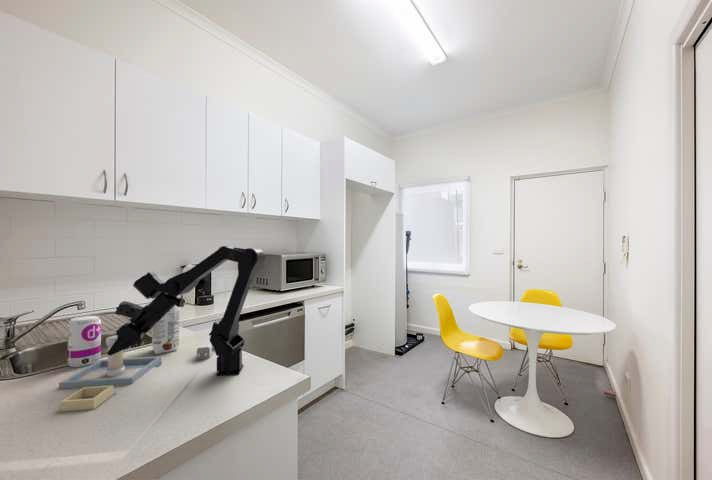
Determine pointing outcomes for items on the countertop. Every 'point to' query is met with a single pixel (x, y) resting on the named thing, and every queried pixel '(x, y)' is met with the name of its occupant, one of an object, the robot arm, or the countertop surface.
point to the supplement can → (84, 341)
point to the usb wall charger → (204, 351)
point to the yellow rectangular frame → (86, 399)
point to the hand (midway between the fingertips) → (114, 349)
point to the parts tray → (129, 363)
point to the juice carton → (166, 332)
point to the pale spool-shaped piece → (114, 359)
